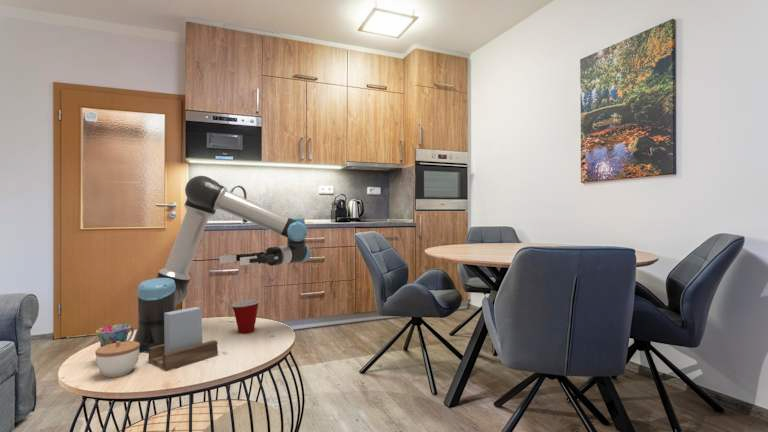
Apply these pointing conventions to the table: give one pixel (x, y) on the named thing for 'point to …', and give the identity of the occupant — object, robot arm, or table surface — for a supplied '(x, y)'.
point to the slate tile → (182, 328)
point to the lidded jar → (117, 358)
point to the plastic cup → (245, 315)
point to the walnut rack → (181, 355)
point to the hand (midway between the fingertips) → (229, 260)
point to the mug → (114, 334)
